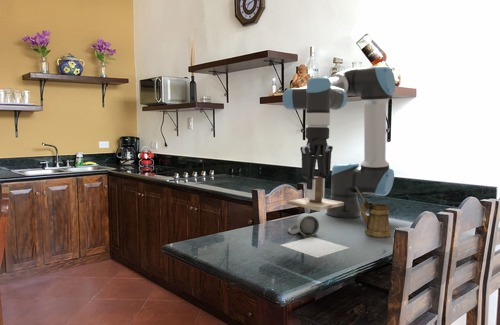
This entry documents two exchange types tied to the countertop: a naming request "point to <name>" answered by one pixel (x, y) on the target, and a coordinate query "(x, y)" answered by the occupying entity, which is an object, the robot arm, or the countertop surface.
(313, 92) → the robot arm
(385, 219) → the wooden mug
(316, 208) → the lid
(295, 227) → the ceramic mug
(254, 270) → the countertop surface
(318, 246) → the mat
